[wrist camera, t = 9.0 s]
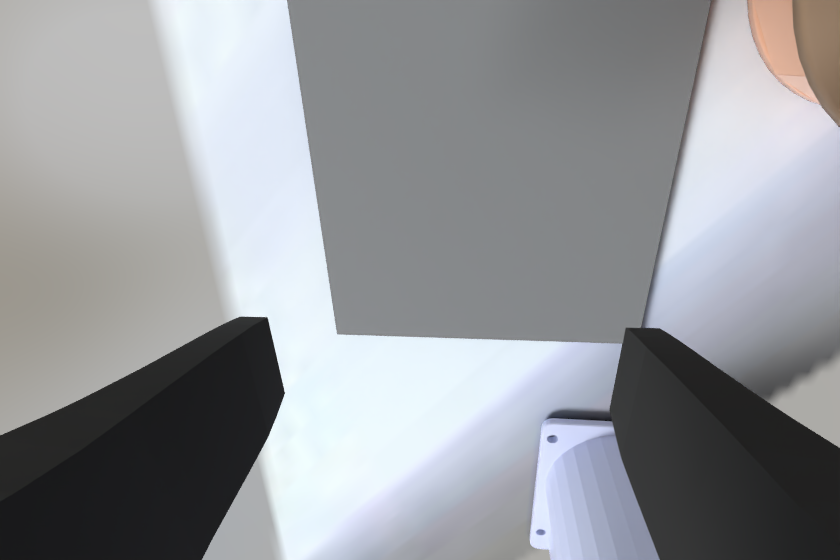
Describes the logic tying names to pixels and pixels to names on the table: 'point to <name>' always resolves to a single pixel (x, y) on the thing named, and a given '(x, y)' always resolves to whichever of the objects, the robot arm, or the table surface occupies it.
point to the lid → (820, 49)
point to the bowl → (779, 44)
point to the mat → (494, 159)
